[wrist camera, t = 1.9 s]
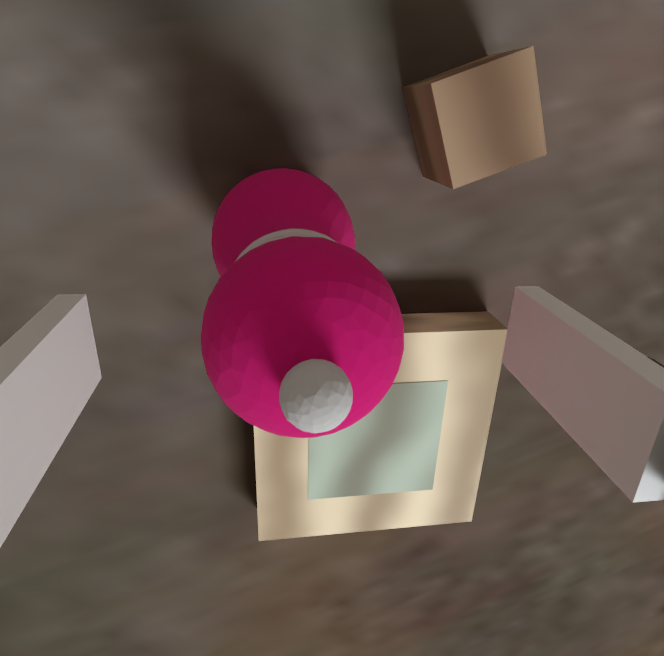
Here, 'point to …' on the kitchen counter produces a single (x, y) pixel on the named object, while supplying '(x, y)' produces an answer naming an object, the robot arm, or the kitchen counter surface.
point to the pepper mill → (297, 310)
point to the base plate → (393, 442)
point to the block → (477, 118)
